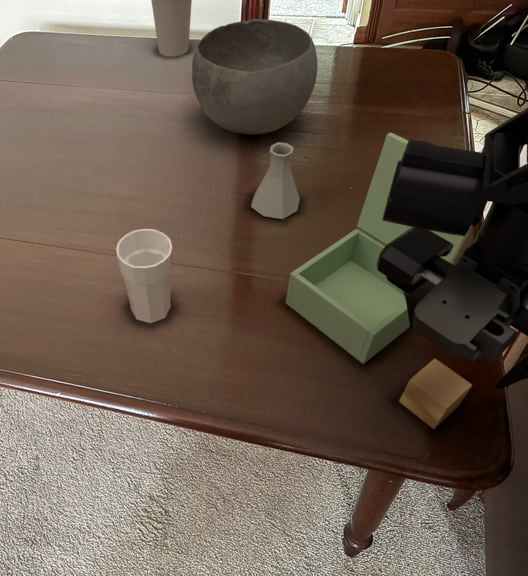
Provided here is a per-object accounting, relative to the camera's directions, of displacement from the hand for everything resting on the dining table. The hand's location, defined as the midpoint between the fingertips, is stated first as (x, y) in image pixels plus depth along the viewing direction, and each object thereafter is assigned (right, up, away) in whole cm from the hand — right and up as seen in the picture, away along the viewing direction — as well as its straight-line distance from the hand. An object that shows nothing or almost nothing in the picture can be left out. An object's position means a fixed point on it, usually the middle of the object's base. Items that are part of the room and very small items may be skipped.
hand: (454, 355), depth 56 cm
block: (+1, -6, +6) cm, 9 cm away
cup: (-30, +4, +19) cm, 36 cm away
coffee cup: (-24, +58, +67) cm, 92 cm away
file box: (-4, +4, +16) cm, 17 cm away
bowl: (-12, +36, +46) cm, 60 cm away
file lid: (0, +16, +9) cm, 18 cm away
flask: (-11, +19, +31) cm, 38 cm away
